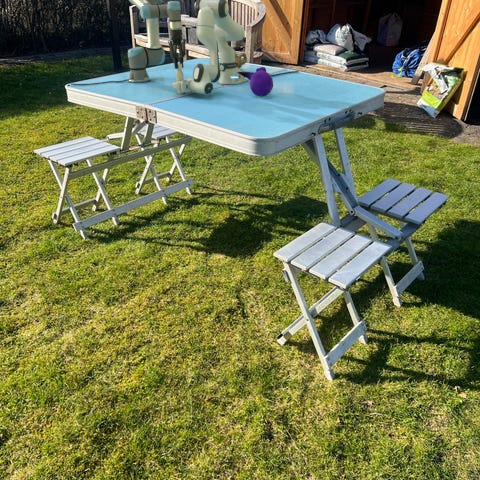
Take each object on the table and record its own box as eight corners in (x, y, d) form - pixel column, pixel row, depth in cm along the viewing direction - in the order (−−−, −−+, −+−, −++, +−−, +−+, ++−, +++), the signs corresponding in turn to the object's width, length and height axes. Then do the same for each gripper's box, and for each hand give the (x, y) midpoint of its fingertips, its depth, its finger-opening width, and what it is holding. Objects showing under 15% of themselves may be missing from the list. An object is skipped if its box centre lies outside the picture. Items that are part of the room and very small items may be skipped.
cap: (183, 67, 294) (183, 64, 293) (178, 68, 292) (178, 65, 290) (179, 67, 296) (179, 63, 295) (174, 68, 294) (174, 64, 293)
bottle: (184, 91, 304) (182, 64, 296) (185, 93, 300) (182, 65, 291) (177, 92, 304) (175, 64, 295) (177, 93, 300) (175, 66, 291)
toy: (257, 88, 307) (273, 101, 287) (234, 84, 300) (248, 97, 279) (264, 65, 299) (280, 76, 279) (240, 59, 292) (255, 71, 271)
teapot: (227, 72, 361) (226, 52, 354) (220, 70, 370) (219, 51, 362) (250, 70, 371) (249, 50, 363) (242, 68, 379) (242, 48, 372)
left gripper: (181, 27, 290) (184, 65, 302) (161, 29, 279) (165, 69, 291) (189, 28, 285) (192, 66, 297) (169, 30, 275) (173, 70, 286)
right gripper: (204, 77, 295) (191, 75, 304) (180, 82, 283) (166, 79, 291) (205, 87, 299) (191, 84, 307) (181, 92, 286) (167, 89, 295)
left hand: (179, 68), depth 294 cm, fingers closed on cap, 4 cm apart
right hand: (179, 82), depth 299 cm, fingers closed on bottle, 5 cm apart
